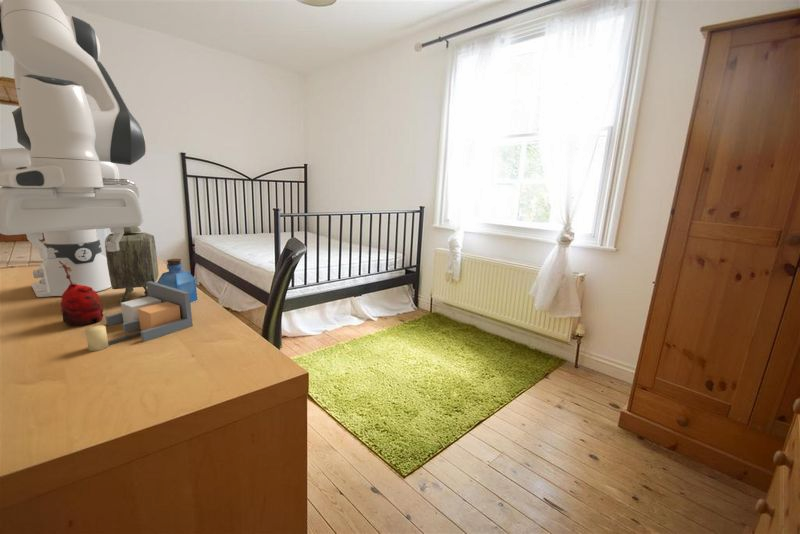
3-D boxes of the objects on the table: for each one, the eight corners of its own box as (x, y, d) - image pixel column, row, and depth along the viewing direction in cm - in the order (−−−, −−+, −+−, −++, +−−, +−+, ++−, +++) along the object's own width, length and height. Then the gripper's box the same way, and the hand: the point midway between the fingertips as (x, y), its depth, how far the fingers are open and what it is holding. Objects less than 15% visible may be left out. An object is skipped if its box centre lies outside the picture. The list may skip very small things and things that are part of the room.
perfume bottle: (179, 308, 91) (174, 263, 89) (159, 305, 92) (153, 261, 90) (197, 300, 97) (193, 258, 94) (178, 298, 98) (173, 256, 96)
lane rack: (106, 324, 79) (101, 290, 78) (154, 311, 88) (150, 281, 86) (144, 341, 72) (139, 304, 70) (192, 325, 80) (189, 292, 79)
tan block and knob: (83, 347, 69) (79, 323, 67) (169, 321, 82) (166, 301, 81) (95, 353, 66) (91, 329, 65) (181, 326, 80) (179, 305, 79)
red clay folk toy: (112, 318, 83) (102, 256, 79) (78, 330, 76) (66, 262, 73) (88, 314, 85) (78, 253, 81) (53, 325, 78) (40, 259, 75)
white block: (123, 323, 81) (120, 302, 80) (152, 315, 86) (149, 296, 85) (134, 328, 78) (131, 307, 77) (163, 320, 83) (161, 300, 82)
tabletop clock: (124, 291, 103) (111, 204, 97) (161, 287, 107) (150, 205, 101) (113, 306, 90) (98, 208, 85) (156, 302, 95) (144, 208, 89)
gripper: (128, 179, 72) (137, 245, 75) (-24, 174, 54) (-4, 261, 57) (144, 179, 69) (153, 248, 72) (-11, 174, 51) (10, 266, 54)
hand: (82, 254), depth 64 cm, fingers open, 8 cm apart
